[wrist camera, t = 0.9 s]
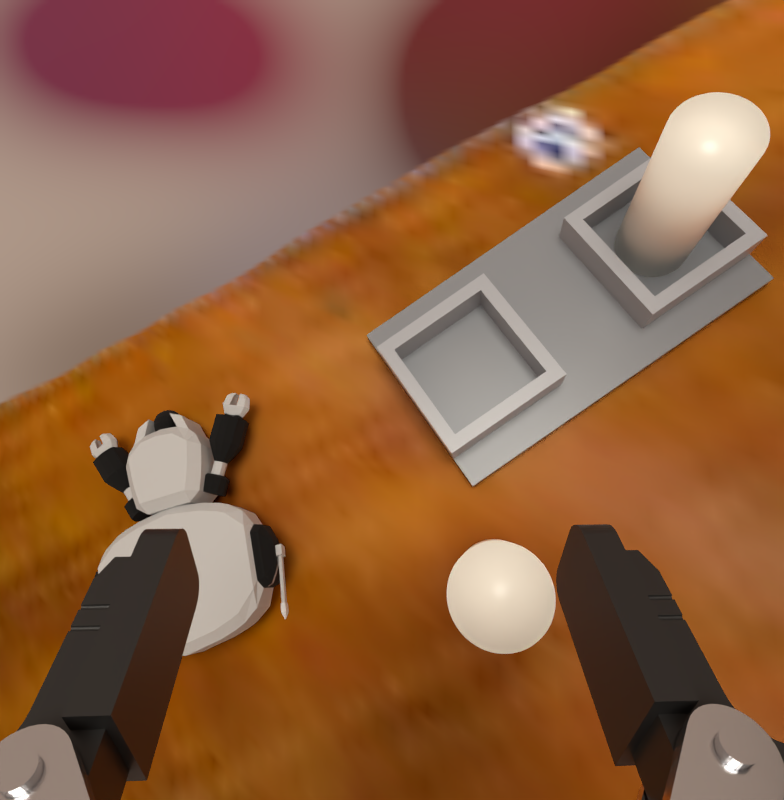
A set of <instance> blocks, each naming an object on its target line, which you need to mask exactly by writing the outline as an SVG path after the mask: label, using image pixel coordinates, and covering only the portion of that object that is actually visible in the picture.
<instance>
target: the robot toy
mask: <svg viewBox="0 0 784 800" xmlns="http://www.w3.org/2000/svg"><path fill="white" fill-rule="evenodd" d="M238 397H239V395H237V394H236V393H231V394H229V395H227V397H226V399H225V401H224V403H223V407H224V413H225V415H223V414H216V418H215V421H214V425H213V428H212V432H211V435H210V439H208V438H207V437H206V435H205V434H204V432H203V430H202V428H201V426H200V425H199V424H197V423H195V422H193V421H191V420H189V419H187V418H185V417H183V416H182V415H179V414H178V413H177V412H175V411H170V410H167V411H163V412H161V413H160V414H158V415H157V416H156V418H155V421H154V422H153V421H150V420H148V421H147V422H145V423H144V424H143V425H142V426H141V427H140V428H139V429H138V432H137V436H136V440H135V444H134V447H133V448H132V450H131V451H130V453H129V454H128V452H127V451H125V450H124V449H123V448H120V447H118V441H117V439H116V438H115V437H114V436H113V435H112V434H111V433H108V434H102V435H100V436H99V437H100V438H101V440H102V442H103V445H102V444H101V442H100V441H98V440H94V441H93V442H92V444H91V445H90V449H91V452H92V455H93V457H94V458H96V459H95V461H94V462H93V463H94V465H95V466H96V468H97V470H98V471H99V473H100V475H101V477H102V478H103V480H104V482H105V483H107V484H108V485H110V486H112V487H113V488H115V489H117V490H119V491H121V492H123V493H124V494H125V495H126V497H127V499H128V500H129V501H128V503H127V504H126V505H125V506H124V507H125V509H126V510H127V512H128V514H129V515H130V517H131V519H132V520H134V521H140V522H138V523H137V524H135V525H133V526H132V527H130V528H129V529H127V530H125V531H124V532H123V533H122V534H120V535H119V536H118V537H117V538H116V539H115V540H114V541H113V543H112V544H111V545H110V546H109V547H108V548H107V549H106V551H105V553H104V555H103V558H102V560H101V562H100V564H99V567H98V572H96V575H95V577H96V576H97V575H98V574H99V573H100V572H101V571H102V570H103V569H104V568H105V567H106V566H107V565H108V564H109V563H110V562H111V560H112V559H113V558H114V557H131V555H132V552H133V550H134V548H135V545H136V543H137V541H138V539H139V536H140V535H141V533H142V532H143V531H144V530H145V529H185V531H186V532H187V535H188V539H189V542H190V546H191V550H192V553H193V557H194V560H195V564H196V568H197V571H198V575H199V596H198V602H197V606H196V610H195V613H194V617H193V620H192V624H191V627H190V631H189V634H188V638H187V641H186V645H185V648H184V652H183V655H182V656H187V655H191V654H195V653H198V652H202V651H205V650H207V649H209V648H212V647H214V646H216V645H218V644H220V643H222V642H225V641H227V640H229V639H231V638H233V637H235V636H237V635H239V634H240V633H242V632H243V631H245V630H246V629H248V628H250V627H251V626H252V625H254V624H255V623H256V622H257V621H258V620H259V619H260V618H261V617H262V615H263V614H264V613H265V612H266V611H267V609H268V608H269V607H270V604H271V599H272V593H273V588H274V587H275V586H276V585H278V584H279V583H280V587H281V601H282V603H281V613H282V615H283V616H284V618H285V620H286V618H287V615H288V613H289V610H288V603H287V598H286V585H285V572H284V559H283V557H286V556H285V546H283V545H282V544H279V542H278V539H277V537H276V536H275V534H274V532H273V531H272V529H271V527H270V526H266V525H262V523H261V522H260V520H259V519H258V517H257V516H256V514H255V513H253V512H250V511H248V510H245V509H243V508H240V507H236V506H233V505H229V504H224V503H212V502H213V501H214V499H215V498H216V497H217V496H218V495H219V496H226V492H227V488H228V484H229V480H228V479H227V477H225V476H224V475H225V471H226V468H227V464H228V463H229V462H230V461H231V460H232V459H233V458H234V457H235V456H236V455H237V454H238V453H239V452H240V451H241V449H242V447H243V444H244V440H245V436H246V432H247V429H248V425H249V424H248V422H247V421H245V420H243V419H242V418H243V417H244V416H245V415H246V414H247V412H248V411H249V405H250V399H249V398H248V397H247V396H246V395H244V394H240V397H239V400H238ZM237 401H238V402H237ZM151 515H152V516H151Z"/></svg>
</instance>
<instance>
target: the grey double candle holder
mask: <svg viewBox="0 0 784 800" xmlns="http://www.w3.org/2000/svg"><path fill="white" fill-rule="evenodd" d="M769 140H770V128H769V124H768V121H767V119H766V117H765V115H764V114H763V113H762V111H761V110H760V109H759V108H758V107H757V106H756V105H755V104H753V103H752V102H750V101H749V100H747V99H745V98H743V97H740V96H737V95H734V94H729V93H721V92H713V93H706V94H701V95H698V96H695V97H692V98H690V99H688V100H686V101H685V102H683V103H682V104H681V105H679V106H678V107H677V108H676V109H675V110H674V111H673V113H672V114H671V115H670V117H669V119H668V121H667V123H666V125H665V128H664V130H663V132H662V134H661V137H660V139H659V141H658V143H657V146H656V148H655V150H654V152H653V154H652V157H651V158H650V157H649V156H648V155H647V154H646V153H644V152H643V151H642V150H641V149H640V148H637V149H636V150H634V151H633V152H631V153H630V154H629V155H627V156H626V157H624V158H623V159H621V160H620V161H618V162H617V163H615V164H614V165H613V166H611V167H610V168H608V169H607V170H605V171H604V172H602V173H601V174H600V175H598V176H597V177H595V178H594V179H592V180H591V181H589V182H588V183H586V184H585V185H584V186H582V187H581V188H579V189H578V190H576V191H575V192H573V193H572V194H571V195H569V196H568V197H566V198H565V199H563V200H562V201H560V202H559V203H557V204H556V205H555V206H553V207H552V208H550V209H549V210H547V211H546V212H544V213H543V214H542V215H540V216H539V217H537V218H536V219H534V220H533V221H531V222H530V223H528V224H527V225H526V226H524V227H523V228H521V229H520V230H518V231H517V232H515V233H514V234H512V235H511V236H510V237H508V238H507V239H505V240H504V241H502V242H501V243H499V244H498V245H497V246H495V247H494V248H492V249H491V250H489V251H488V252H486V253H485V254H483V255H482V256H481V257H479V258H478V259H476V260H475V261H473V262H472V263H470V264H469V265H468V266H466V267H465V268H463V269H462V270H460V271H459V272H457V273H456V274H454V275H453V276H452V277H450V278H449V279H447V280H446V281H444V282H443V283H441V284H440V285H439V286H437V287H436V288H434V289H433V290H431V291H430V292H428V293H427V294H425V295H424V296H423V297H421V298H420V299H418V300H417V301H415V302H414V303H412V304H411V305H410V306H408V307H407V308H405V309H404V310H402V311H401V312H399V313H398V314H396V315H395V316H394V317H392V318H391V319H389V320H388V321H386V322H385V323H383V324H382V325H380V326H379V327H378V328H376V329H375V330H373V331H372V332H370V333H369V334H367V337H368V339H369V340H370V342H371V343H372V344H373V346H374V347H375V349H376V350H377V352H378V353H379V354H380V356H381V357H382V359H383V360H384V361H385V363H386V364H387V366H388V367H389V369H390V370H391V371H392V373H393V374H394V376H395V377H396V378H397V380H398V381H399V383H400V384H401V386H402V387H403V388H404V390H405V391H406V393H407V394H408V396H409V397H410V398H411V400H412V401H413V403H414V404H415V405H416V407H417V408H418V410H419V411H420V413H421V414H422V415H423V417H424V418H425V420H426V421H427V422H428V424H429V425H430V427H431V428H432V430H433V431H434V432H435V434H436V435H437V437H438V438H439V440H440V441H441V442H442V444H443V445H444V447H445V448H446V449H447V451H448V452H449V454H450V455H451V457H452V458H453V459H454V461H455V462H456V464H457V465H458V466H459V468H460V469H461V471H462V472H463V474H464V475H465V476H466V478H467V479H468V481H469V482H470V483H471V485H472V486H473V487H474V486H475V485H477V484H478V483H480V482H481V481H483V480H484V479H485V478H487V477H488V476H490V475H491V474H493V473H494V472H496V471H497V470H499V469H500V468H501V467H503V466H504V465H506V464H507V463H509V462H510V461H512V460H513V459H514V458H516V457H517V456H519V455H520V454H522V453H523V452H525V451H526V450H527V449H529V448H530V447H532V446H533V445H535V444H536V443H538V442H539V441H540V440H542V439H543V438H545V437H546V436H548V435H549V434H551V433H552V432H554V431H555V430H556V429H558V428H559V427H561V426H562V425H564V424H565V423H567V422H568V421H569V420H571V419H572V418H574V417H575V416H577V415H578V414H580V413H581V412H582V411H584V410H585V409H587V408H588V407H590V406H591V405H593V404H594V403H595V402H597V401H598V400H600V399H601V398H603V397H604V396H606V395H607V394H608V393H610V392H611V391H613V390H614V389H616V388H617V387H619V386H620V385H622V384H623V383H624V382H626V381H627V380H629V379H630V378H632V377H633V376H635V375H636V374H637V373H639V372H640V371H642V370H643V369H645V368H646V367H648V366H649V365H650V364H652V363H653V362H655V361H656V360H658V359H659V358H661V357H662V356H663V355H665V354H666V353H668V352H669V351H671V350H672V349H674V348H675V347H677V346H678V345H679V344H681V343H682V342H684V341H685V340H687V339H688V338H690V337H691V336H692V335H694V334H695V333H697V332H698V331H700V330H701V329H703V328H704V327H705V326H707V325H708V324H710V323H711V322H713V321H714V320H716V319H717V318H718V317H720V316H721V315H723V314H724V313H726V312H727V311H729V310H730V309H732V308H733V307H734V306H736V305H737V304H739V303H740V302H742V301H743V300H745V299H746V298H747V297H749V296H750V295H752V294H753V293H755V292H756V291H758V290H759V289H760V288H762V287H763V286H765V285H766V284H768V283H769V282H770V281H771V280H772V279H773V277H772V276H771V275H770V274H769V273H768V272H767V271H766V270H765V269H764V268H763V267H762V266H761V265H760V264H759V263H758V262H757V261H756V260H755V259H754V258H753V257H752V256H751V255H750V253H751V252H752V251H753V250H754V249H755V248H756V247H757V246H758V245H759V244H760V243H761V242H762V241H763V240H764V239H765V237H766V236H767V234H766V233H765V232H764V231H763V230H761V229H760V228H759V227H758V226H757V225H756V224H755V223H754V222H753V221H752V220H751V219H750V218H749V217H748V216H747V215H746V214H744V213H743V212H742V211H741V210H740V209H739V208H738V207H737V206H736V205H735V204H734V203H733V202H732V201H731V200H730V199H731V197H732V196H733V194H734V193H735V192H736V190H737V189H738V188H739V186H740V185H741V184H742V182H743V181H744V180H745V178H746V177H747V176H748V174H749V173H750V171H751V170H752V169H753V167H754V166H755V165H756V163H757V162H758V161H759V159H760V158H761V157H762V155H763V154H764V152H765V151H766V149H767V147H768V144H769Z"/></svg>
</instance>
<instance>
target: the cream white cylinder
mask: <svg viewBox="0 0 784 800" xmlns="http://www.w3.org/2000/svg"><path fill="white" fill-rule="evenodd" d="M447 604H448V608H449V612H450V615H451V617H452V620H453V622H454V623H455V625H456V627H457V628H458V630H459V631H460V632H461V633H462V635H463V636H464V637H465V638H466V639H468V640H469V641H470V642H471V643H473V644H474V645H476V646H477V647H479V648H481V649H483V650H486V651H489V652H492V653H498V654H511V653H516V652H520V651H523V650H525V649H528V648H529V647H531V646H533V645H534V644H535V643H537V642H538V641H539V640H540V639H541V638H542V637H543V636H544V634H545V633H546V632H547V630H548V628H549V626H550V625H551V622H552V620H553V617H554V612H555V604H556V598H555V590H554V585H553V582H552V579H551V577H550V575H549V573H548V571H547V569H546V568H545V566H544V565H543V563H542V562H541V561H540V560H539V559H538V558H537V557H536V556H535V555H534V554H533V553H531V552H530V551H529V550H527V549H525V548H524V547H522V546H520V545H517V544H515V543H511V542H508V541H504V540H500V539H486V540H482V541H480V542H477V543H476V544H474V545H472V546H471V547H470V548H469V549H468V550H467V551H466V552H465V553H464V554H463V555H462V556H461V557H460V558H459V559H458V561H457V562H456V563H455V565H454V567H453V569H452V571H451V573H450V576H449V579H448V584H447Z"/></svg>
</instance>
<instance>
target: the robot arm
mask: <svg viewBox="0 0 784 800" xmlns="http://www.w3.org/2000/svg"><path fill="white" fill-rule="evenodd" d="M556 582H557V592H558V597H559V600H560V603H561V606H562V609H563V612H564V615H565V618H566V621H567V624H568V627H569V630H570V633H571V636H572V639H573V642H574V645H575V648H576V651H577V654H578V657H579V660H580V663H581V666H582V669H583V672H584V675H585V678H586V681H587V684H588V687H589V690H590V693H591V695H592V698H593V701H594V704H595V707H596V710H597V713H598V716H599V719H600V722H601V725H602V728H603V731H604V734H605V737H606V740H607V743H608V746H609V749H610V752H611V755H612V758H613V761H614V764H615V766H627V765H636V767H637V770H638V773H639V776H640V778H641V781H642V784H641V787H640V789H639V792H638V796H637V799H636V800H784V743H781V742H779V741H776V740H774V739H772V738H770V736H769V735H768V734H767V733H766V732H765V731H764V730H763V729H762V728H761V727H760V726H759V725H758V724H757V723H756V722H755V721H753V720H752V719H751V718H750V717H748V716H747V715H745V714H743V713H742V712H740V711H738V710H736V709H735V708H734V707H733V706H732V704H731V703H730V702H729V700H728V699H727V697H726V695H725V694H724V692H723V690H722V688H721V686H720V684H719V682H718V681H717V679H716V677H715V675H714V673H713V671H712V669H711V667H710V666H709V664H708V662H707V660H706V658H705V656H704V654H703V653H702V651H701V649H700V647H699V645H698V643H697V641H696V639H695V638H694V636H693V634H692V632H691V630H690V628H689V626H688V624H687V623H686V621H685V620H683V618H682V613H681V611H680V609H679V608H678V606H677V604H676V602H675V600H672V597H671V596H672V594H671V593H670V591H669V589H668V587H667V585H666V583H665V581H664V580H663V578H662V576H661V574H660V572H659V571H658V570H657V569H656V568H655V567H654V566H653V565H652V564H651V563H650V562H649V561H648V560H647V559H646V558H645V557H644V556H643V555H642V554H641V553H640V552H639V551H638V550H625V548H624V546H623V544H622V542H621V540H620V538H619V536H618V534H617V532H616V531H615V529H614V528H613V527H612V526H611V525H573V526H572V527H571V529H570V532H569V535H568V538H567V541H566V544H565V547H564V550H563V554H562V557H561V560H560V563H559V566H558V570H557V577H556ZM198 596H199V575H198V571H197V568H196V564H195V560H194V557H193V553H192V550H191V546H190V542H189V539H188V535H187V532H186V531H185V529H145V530H144V531H143V532H142V533H141V535H140V536H139V539H138V541H137V543H136V545H135V548H134V550H133V552H132V555H131V557H114V558H113V559H112V560H111V562H110V563H109V564H108V565H107V566H106V567H105V568H104V569H103V570H102V571H101V572H100V573H99V574H98V575H97V576H96V577H95V578H94V579H93V581H92V583H91V586H90V588H89V590H88V592H87V594H86V596H85V598H84V600H83V602H82V604H81V610H78V612H77V615H76V617H75V619H74V621H73V623H72V625H71V631H68V633H67V635H66V637H65V639H64V641H63V644H62V646H61V648H60V650H59V652H58V654H57V656H56V658H55V660H54V662H53V664H52V666H51V668H50V670H49V673H48V675H47V677H46V679H45V681H44V683H43V685H42V687H41V689H40V691H39V693H38V695H37V697H36V699H35V702H34V704H33V706H32V708H31V710H30V712H29V714H28V715H27V717H26V719H25V721H24V722H23V723H22V725H21V726H20V728H19V729H18V730H17V731H16V732H15V733H13V734H11V735H10V736H8V737H7V738H5V739H4V740H2V741H1V742H0V800H120V799H121V796H122V793H123V790H124V787H125V783H126V781H142V780H147V778H148V775H149V771H150V768H151V764H152V761H153V757H154V754H155V750H156V747H157V743H158V740H159V736H160V733H161V729H162V726H163V722H164V719H165V715H166V711H167V708H168V704H169V701H170V697H171V694H172V690H173V687H174V683H175V680H176V676H177V673H178V669H179V666H180V662H181V659H182V655H183V652H184V648H185V645H186V641H187V638H188V634H189V631H190V627H191V624H192V620H193V617H194V613H195V610H196V606H197V602H198Z"/></svg>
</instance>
